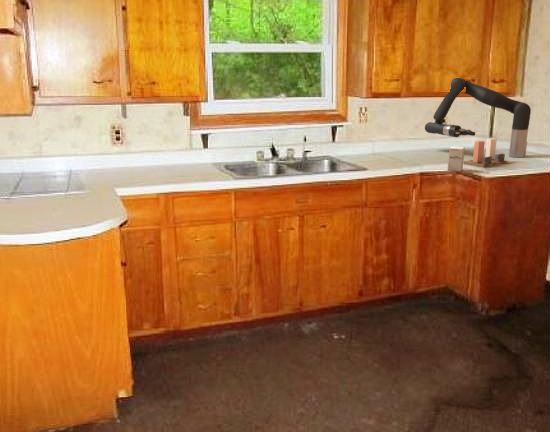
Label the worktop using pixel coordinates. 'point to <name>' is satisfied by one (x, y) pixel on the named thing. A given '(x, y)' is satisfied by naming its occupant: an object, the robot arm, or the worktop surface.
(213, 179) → the worktop surface
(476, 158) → the pink tall block
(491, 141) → the key white
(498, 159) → the switch bench
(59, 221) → the worktop surface
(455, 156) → the supplement box
